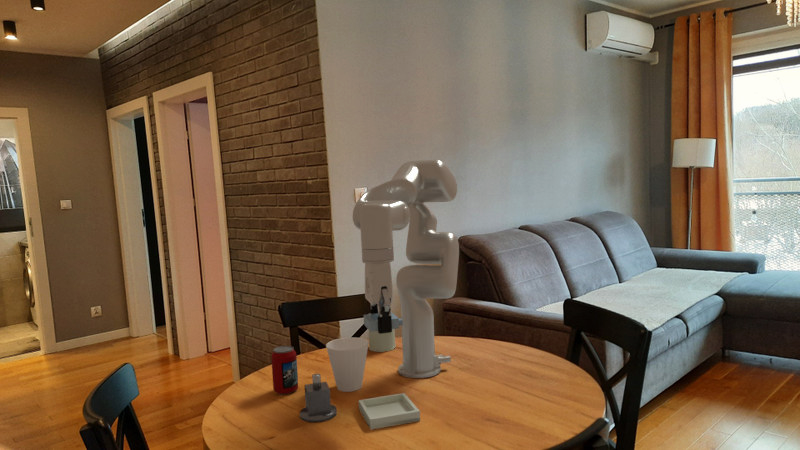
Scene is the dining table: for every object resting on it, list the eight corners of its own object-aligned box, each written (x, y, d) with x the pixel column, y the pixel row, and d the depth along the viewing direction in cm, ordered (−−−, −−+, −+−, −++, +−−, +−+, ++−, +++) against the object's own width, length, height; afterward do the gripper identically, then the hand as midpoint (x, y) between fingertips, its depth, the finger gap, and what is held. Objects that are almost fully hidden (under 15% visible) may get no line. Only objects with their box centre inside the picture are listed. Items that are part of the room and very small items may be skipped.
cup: (377, 381, 157) (375, 338, 156) (360, 397, 146) (358, 351, 145) (339, 377, 161) (337, 336, 160) (320, 393, 150) (318, 348, 149)
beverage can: (292, 396, 149) (290, 352, 148) (269, 395, 150) (266, 352, 149) (302, 387, 155) (299, 345, 154) (279, 386, 157) (277, 344, 156)
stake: (333, 404, 142) (331, 366, 141) (340, 418, 133) (337, 378, 133) (297, 410, 139) (295, 371, 138) (302, 425, 131) (300, 384, 130)
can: (398, 344, 192) (397, 310, 191) (392, 352, 183) (390, 316, 182) (373, 343, 194) (371, 309, 193) (365, 351, 185) (363, 316, 184)
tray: (404, 402, 142) (404, 392, 142) (420, 420, 130) (419, 410, 130) (359, 409, 138) (358, 400, 138) (370, 429, 127) (370, 419, 127)
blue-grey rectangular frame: (364, 324, 135) (363, 314, 135) (397, 320, 137) (397, 311, 137) (370, 331, 128) (369, 321, 128) (405, 327, 131) (405, 317, 130)
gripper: (355, 252, 139) (358, 321, 140) (370, 261, 122) (374, 340, 123) (384, 249, 141) (387, 318, 142) (402, 258, 124) (406, 336, 125)
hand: (381, 328), depth 133 cm, fingers closed on blue-grey rectangular frame, 7 cm apart
